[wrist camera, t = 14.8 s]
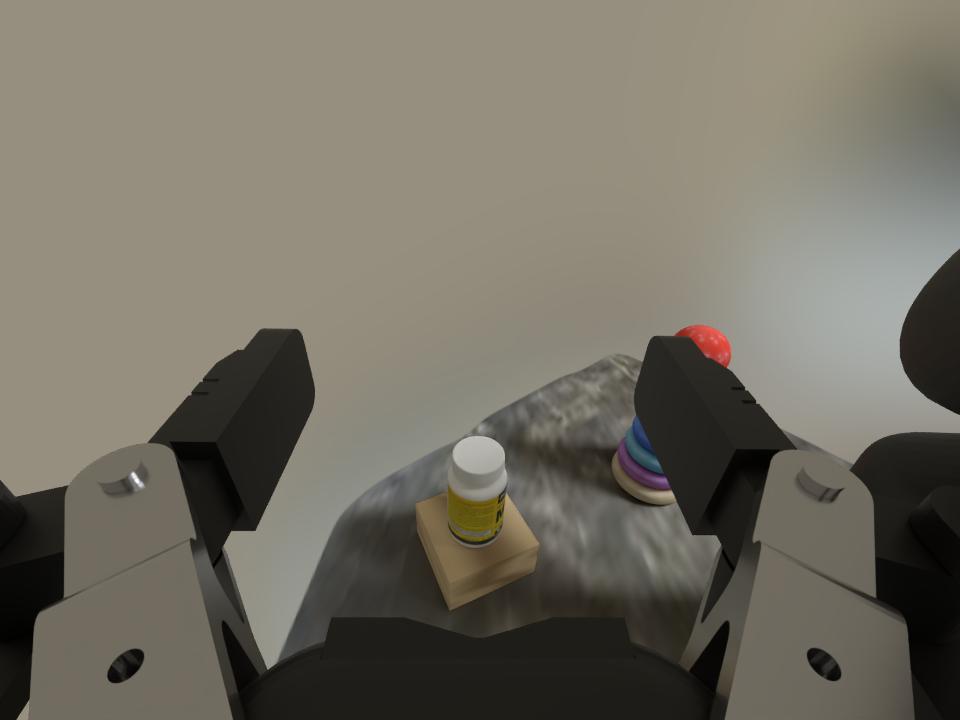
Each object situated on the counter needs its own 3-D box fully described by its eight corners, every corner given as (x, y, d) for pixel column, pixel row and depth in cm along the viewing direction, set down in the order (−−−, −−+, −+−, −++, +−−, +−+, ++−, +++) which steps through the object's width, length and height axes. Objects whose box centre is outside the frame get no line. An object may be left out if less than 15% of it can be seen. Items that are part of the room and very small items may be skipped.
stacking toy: (648, 520, 43) (711, 362, 33) (595, 465, 49) (634, 317, 38) (702, 491, 46) (774, 340, 36) (645, 444, 52) (694, 302, 42)
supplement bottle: (504, 549, 35) (512, 478, 30) (446, 550, 35) (445, 478, 30) (500, 501, 39) (507, 432, 34) (448, 501, 39) (447, 431, 34)
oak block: (492, 502, 44) (494, 475, 42) (534, 571, 38) (539, 544, 36) (417, 531, 41) (415, 503, 38) (449, 611, 35) (449, 583, 33)
